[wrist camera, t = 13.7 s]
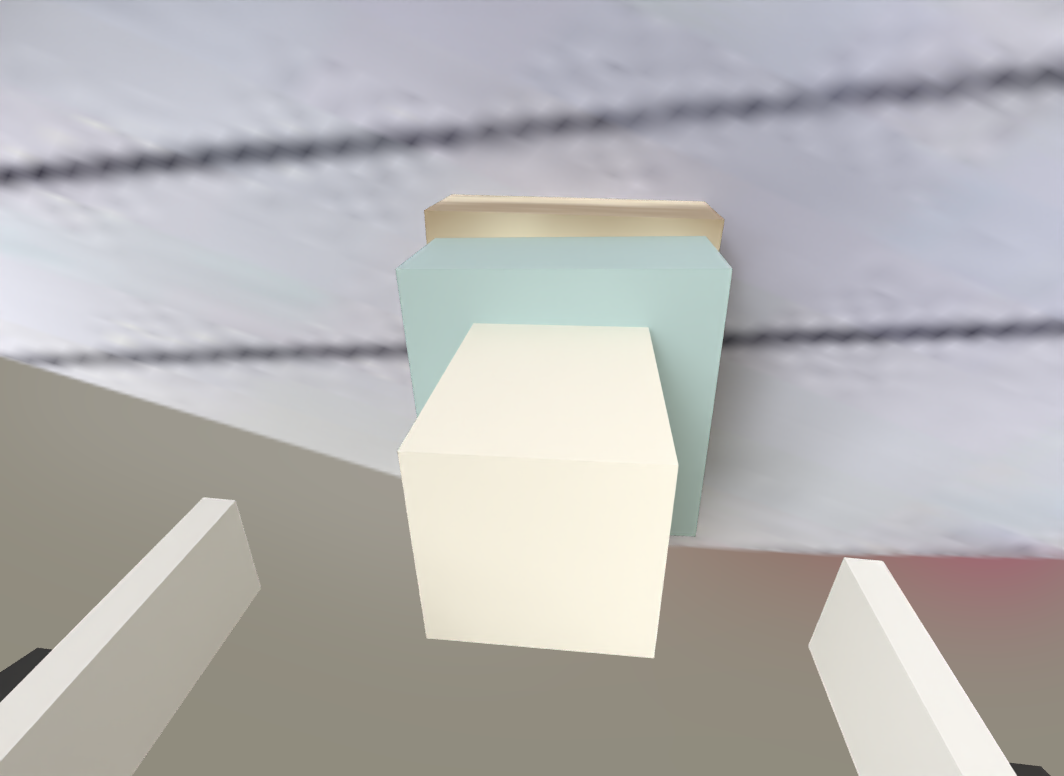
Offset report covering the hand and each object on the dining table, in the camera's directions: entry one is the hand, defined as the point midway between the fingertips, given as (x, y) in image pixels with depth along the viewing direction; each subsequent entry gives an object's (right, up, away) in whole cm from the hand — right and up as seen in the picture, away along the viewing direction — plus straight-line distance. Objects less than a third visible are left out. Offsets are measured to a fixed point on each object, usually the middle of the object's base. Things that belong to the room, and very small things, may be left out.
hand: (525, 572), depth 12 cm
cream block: (+1, +4, +8) cm, 9 cm away
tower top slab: (+2, +5, +12) cm, 14 cm away
